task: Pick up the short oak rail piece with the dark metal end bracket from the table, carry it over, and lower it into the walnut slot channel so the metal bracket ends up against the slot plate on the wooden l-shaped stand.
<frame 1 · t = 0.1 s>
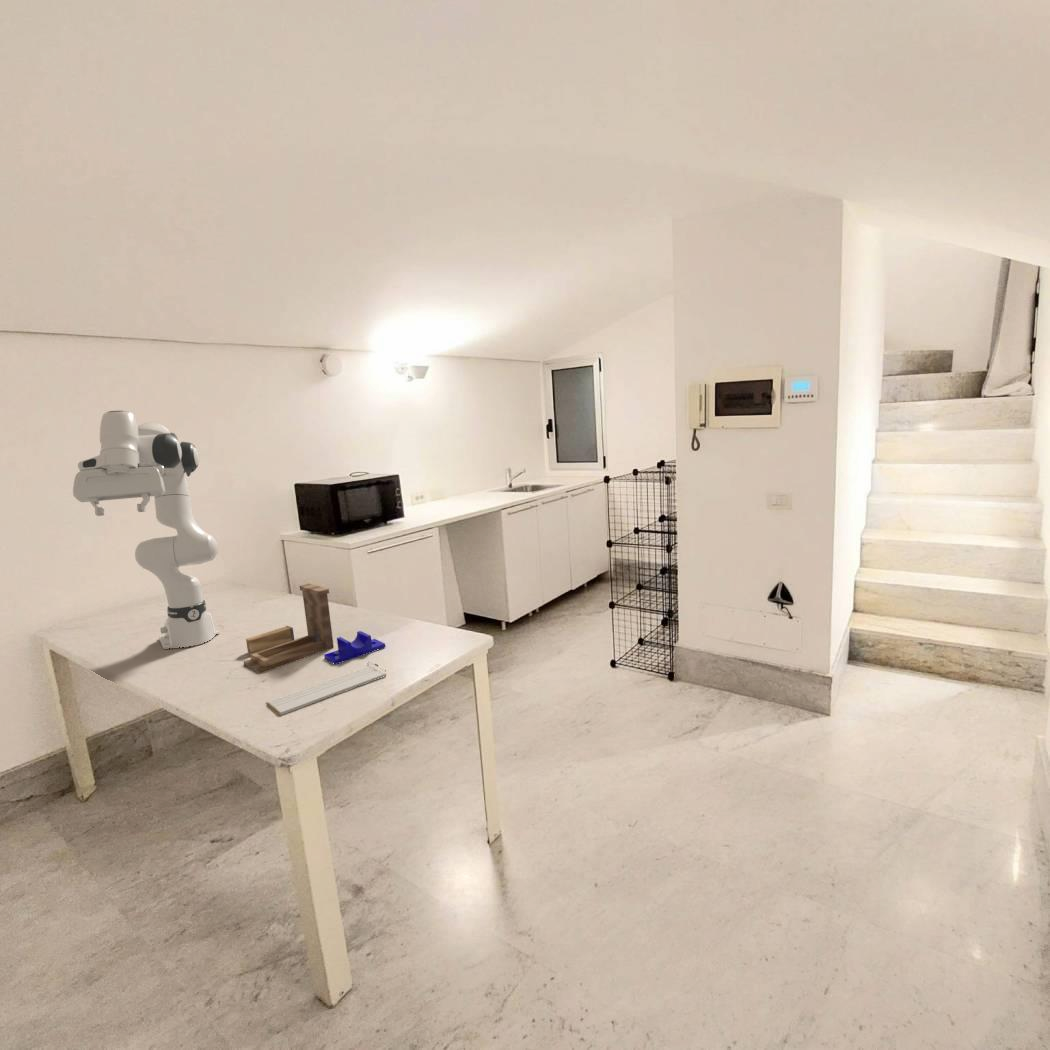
hand: (120, 513, 156), 54 cm above the table, tool tilted 30°, fingers open, 8 cm apart
oak rail piece: (270, 647, 207), on the table
wooden l-shaped stand: (290, 655, 197), on the table
mounting bracket: (355, 654, 196), on the table
baseboard molding: (328, 691, 170), on the table
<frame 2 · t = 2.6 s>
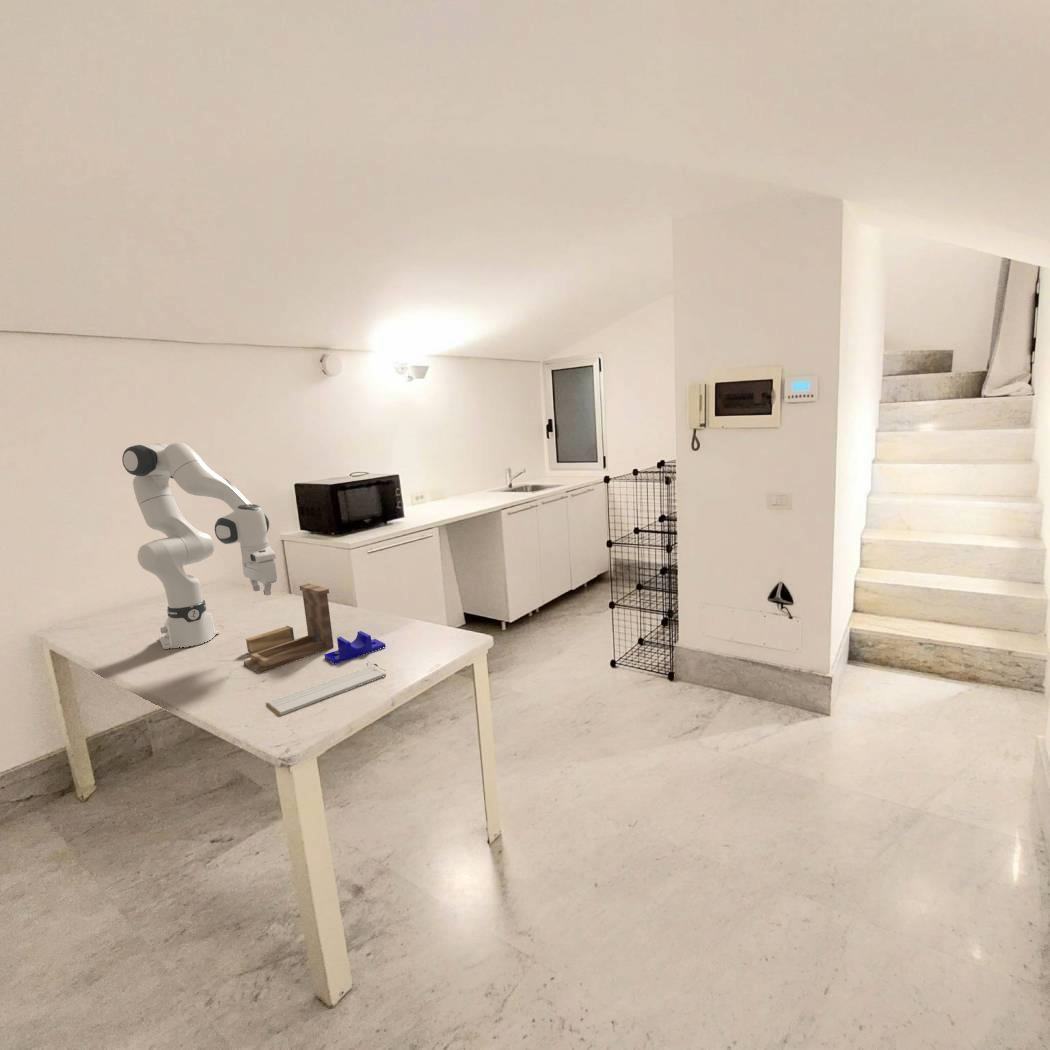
hand: (262, 592, 202), 20 cm above the table, tool pointing down, fingers open, 8 cm apart
nothing on the table moved.
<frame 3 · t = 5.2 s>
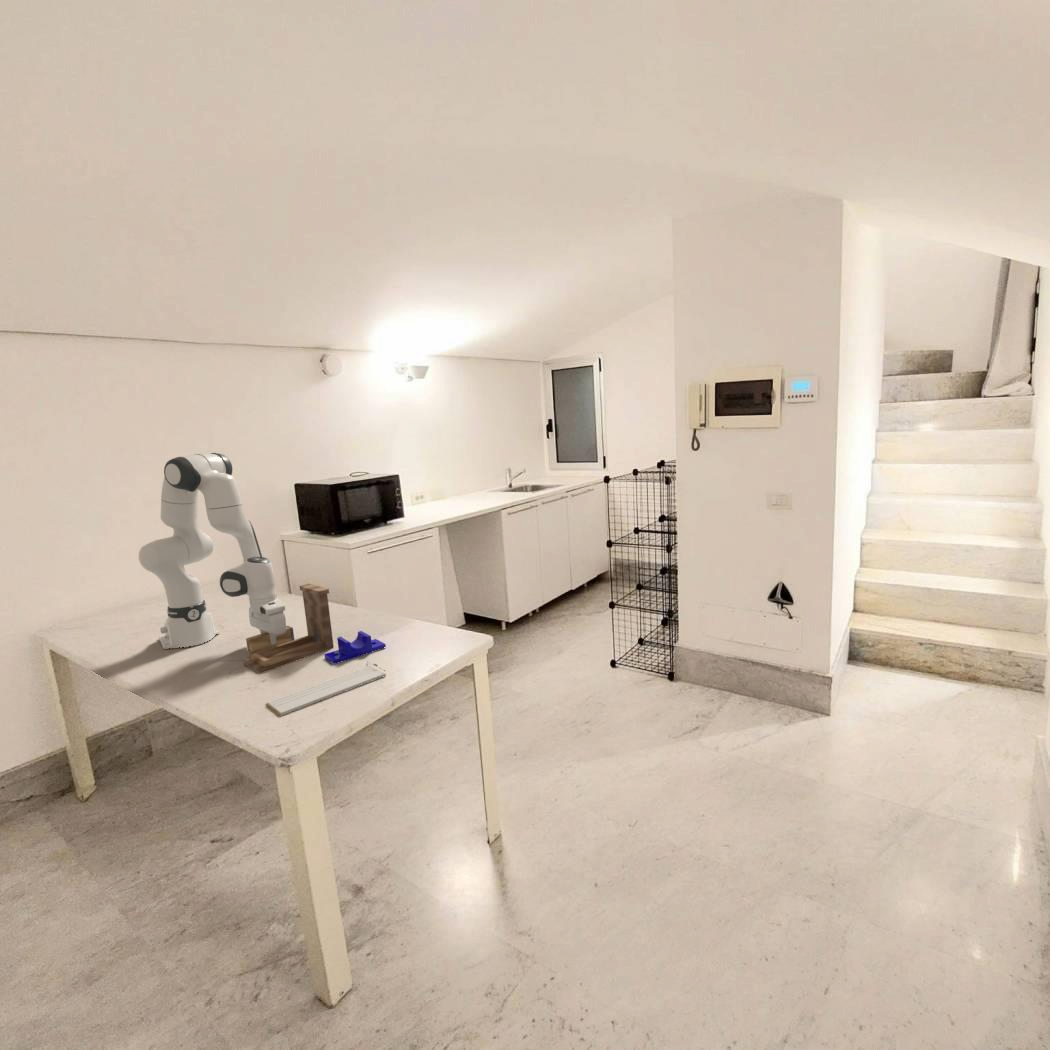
hand: (269, 642, 206), 2 cm above the table, tool pointing down, fingers closed on oak rail piece, 3 cm apart
oak rail piece: (270, 647, 207), on the table, touching gripper
everything else where it was.
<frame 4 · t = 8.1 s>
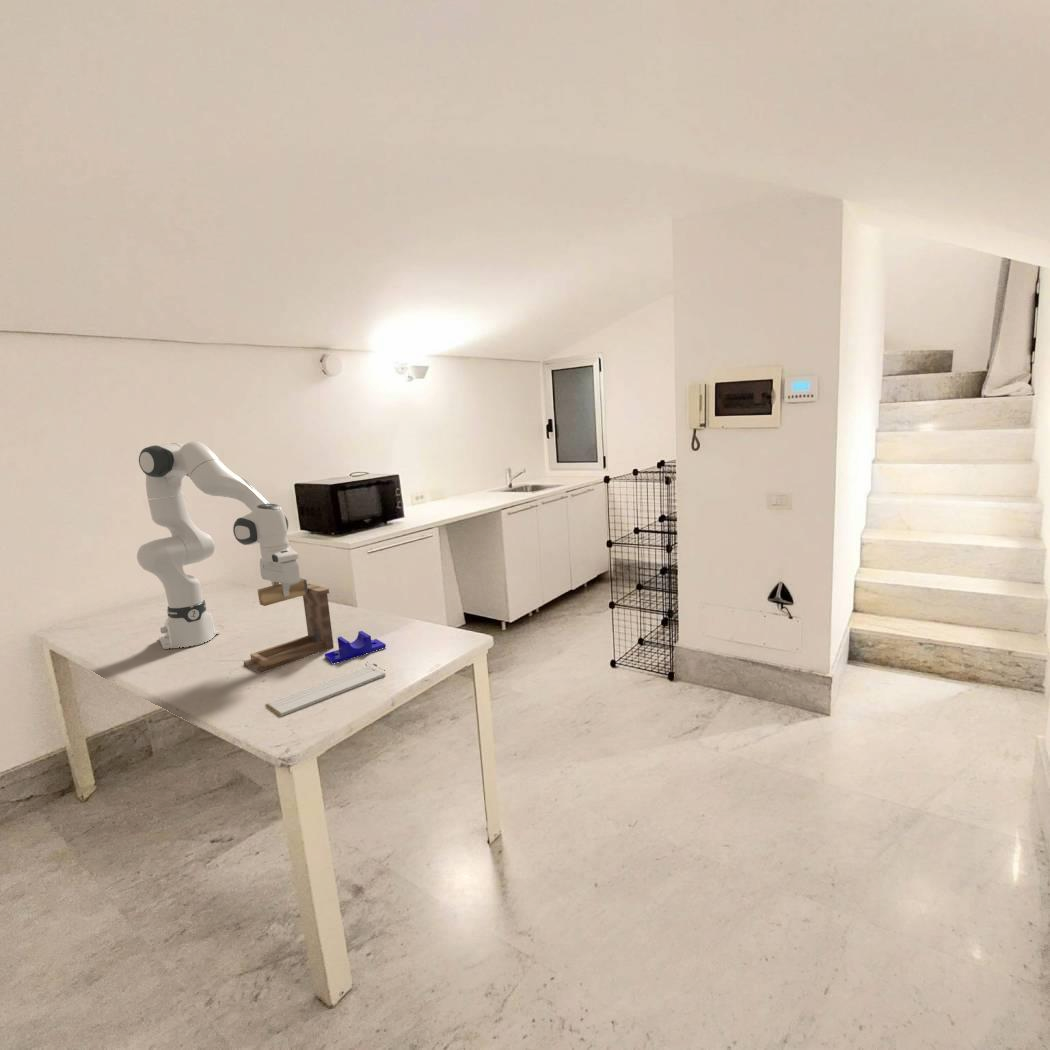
hand: (282, 594, 196), 20 cm above the table, tool pointing down, fingers closed on oak rail piece, 3 cm apart
oak rail piece: (283, 599, 196), point 19 cm above the table, touching gripper
everything else where it was.
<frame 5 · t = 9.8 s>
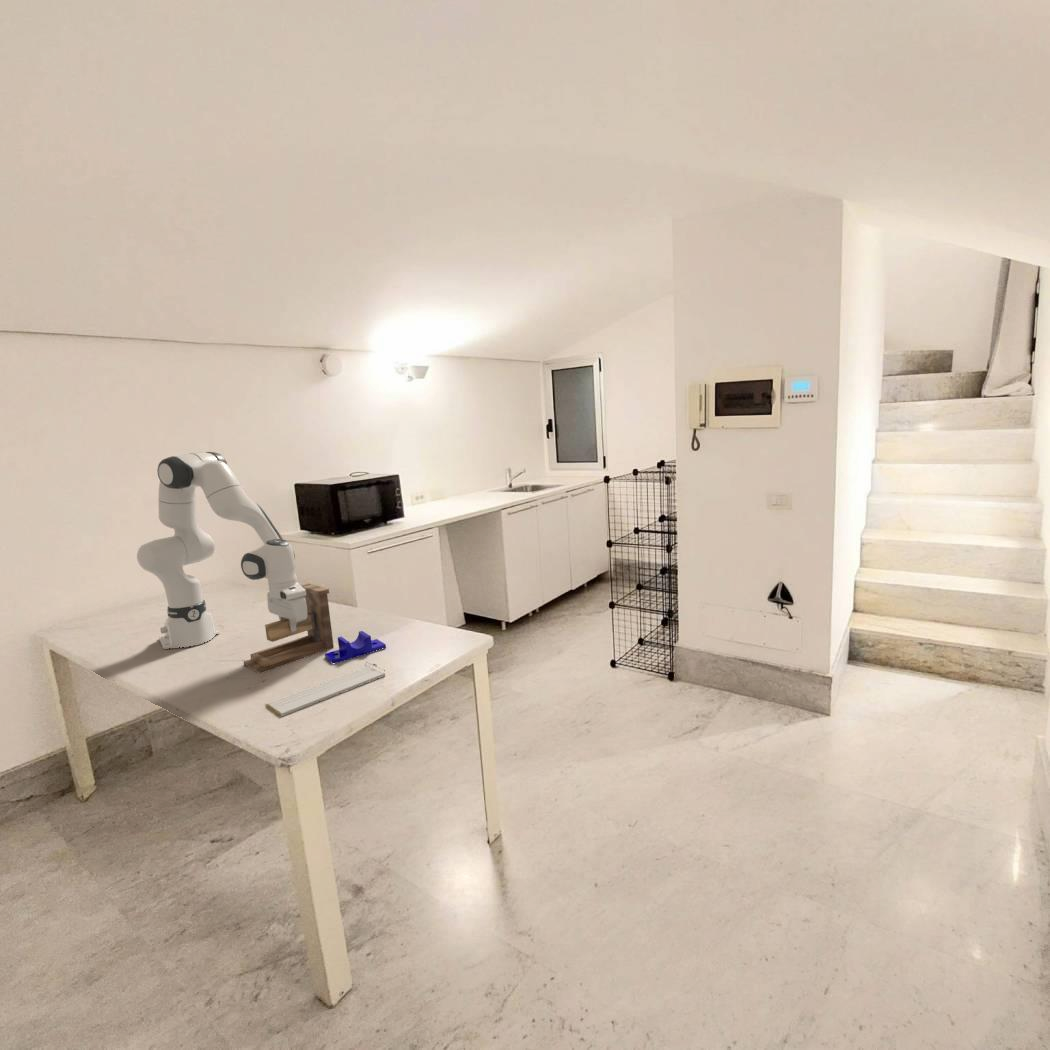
hand: (289, 629, 197), 9 cm above the table, tool pointing down, fingers closed on oak rail piece, 3 cm apart
oak rail piece: (290, 634, 197), point 7 cm above the table, touching gripper
everything else where it was.
when the fingers open (4 cm above the table, at t = 11.0 s): oak rail piece drops 1 cm, resting on wooden l-shaped stand.
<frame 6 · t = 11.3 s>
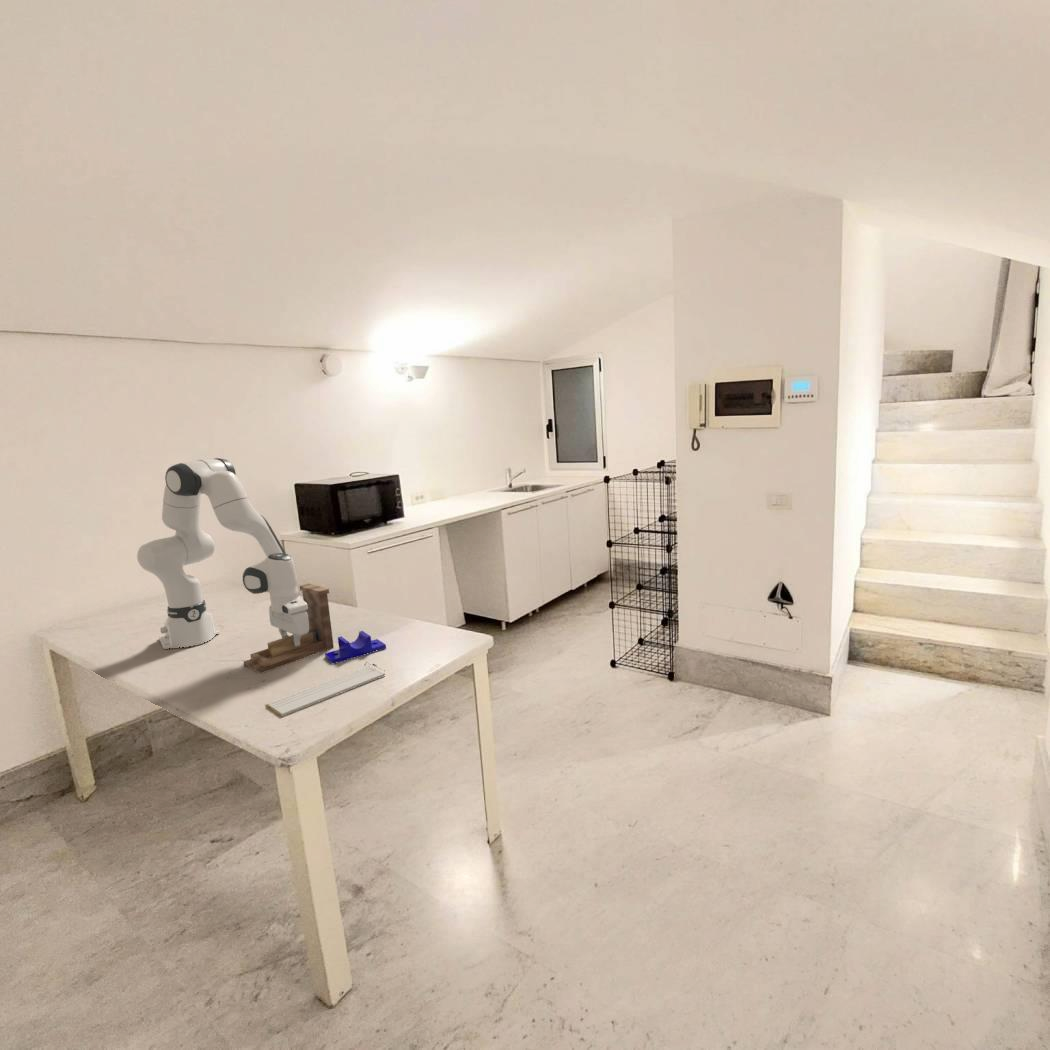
hand: (291, 643, 197), 4 cm above the table, tool pointing down, fingers open, 6 cm apart
oak rail piece: (292, 651, 198), point 1 cm above the table, touching wooden l-shaped stand
everything else where it was.
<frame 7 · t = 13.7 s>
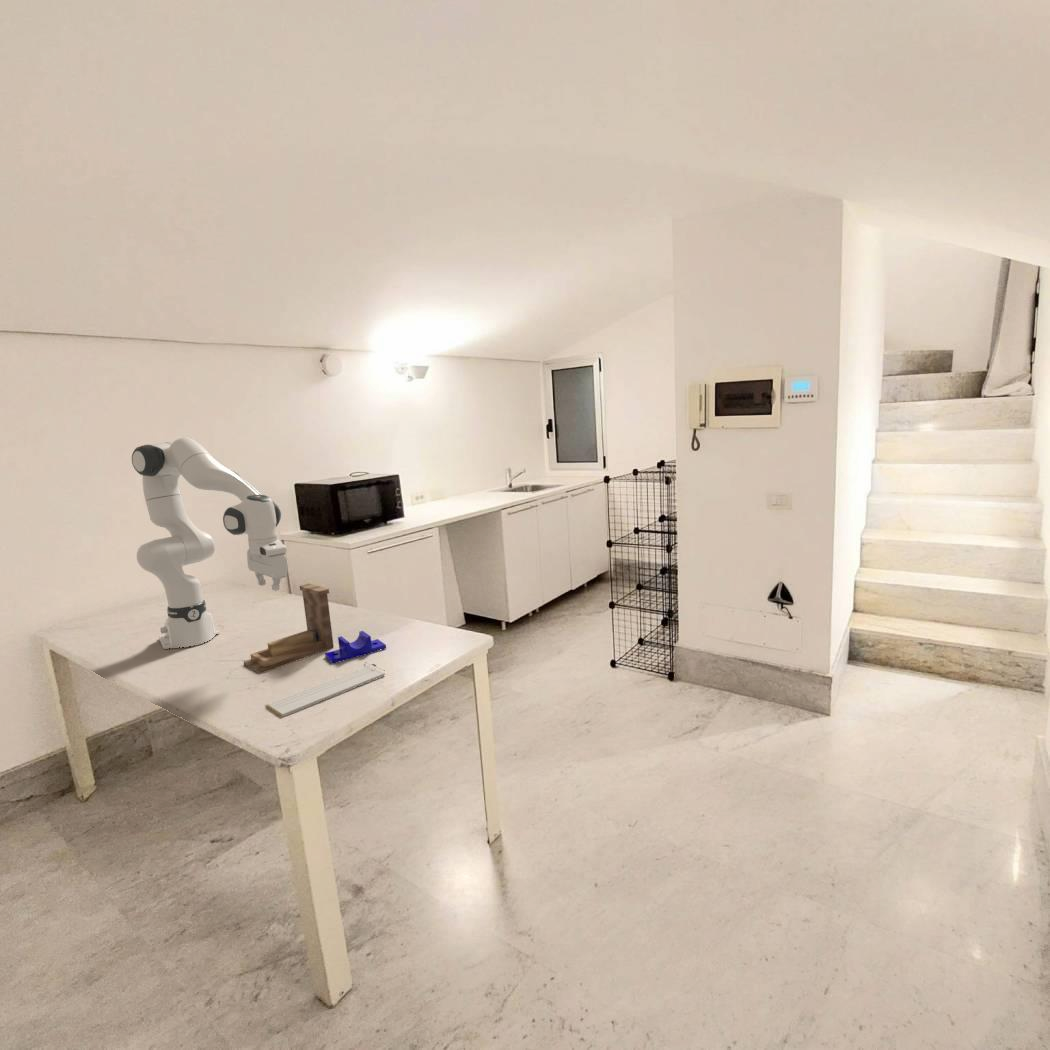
hand: (269, 587, 193), 24 cm above the table, tool pointing down, fingers open, 8 cm apart
nothing on the table moved.
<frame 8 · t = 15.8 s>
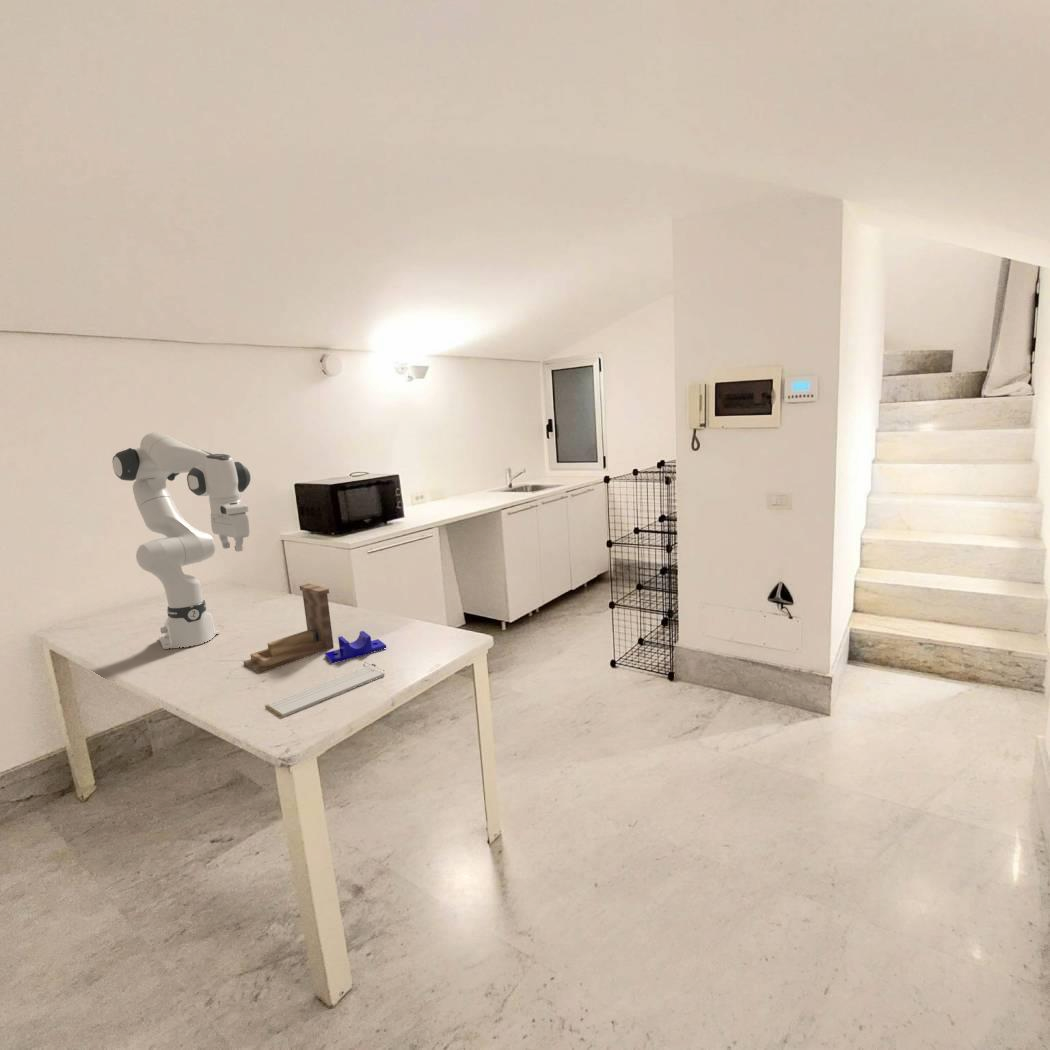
hand: (232, 549, 189), 37 cm above the table, tool pointing down, fingers open, 8 cm apart
nothing on the table moved.
at the end: oak rail piece 0.0 cm from the target spot on the wooden l-shaped stand, point 1.0 cm above the wooden l-shaped stand's base; oak rail piece tilted 0°; the gripper is holding nothing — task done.
